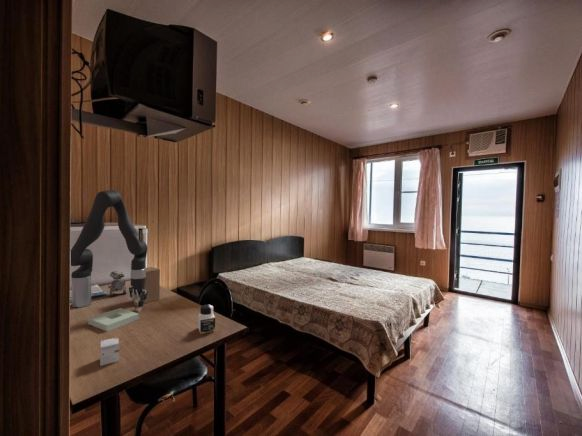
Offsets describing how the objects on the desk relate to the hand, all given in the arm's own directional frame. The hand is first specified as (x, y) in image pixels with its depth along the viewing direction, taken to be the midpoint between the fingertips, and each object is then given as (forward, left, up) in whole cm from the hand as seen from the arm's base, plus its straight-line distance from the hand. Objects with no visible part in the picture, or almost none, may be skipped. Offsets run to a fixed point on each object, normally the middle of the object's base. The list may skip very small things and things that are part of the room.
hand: (138, 306), depth 153 cm
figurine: (-38, +11, -3) cm, 40 cm away
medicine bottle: (+50, +2, -3) cm, 50 cm away
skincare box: (+36, -36, -3) cm, 51 cm away
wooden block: (-11, +14, -3) cm, 18 cm away
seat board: (+3, -15, -3) cm, 16 cm away
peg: (0, 0, -3) cm, 3 cm away
